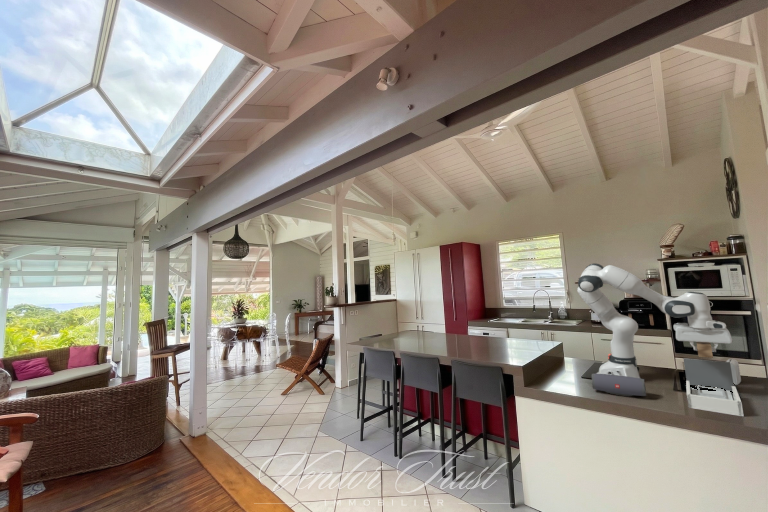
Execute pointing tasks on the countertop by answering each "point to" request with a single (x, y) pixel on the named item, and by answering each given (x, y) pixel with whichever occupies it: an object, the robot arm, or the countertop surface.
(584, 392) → the countertop surface
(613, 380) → the bluetooth speaker
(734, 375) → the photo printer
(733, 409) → the white open box
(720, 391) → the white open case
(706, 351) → the brown wooden block
